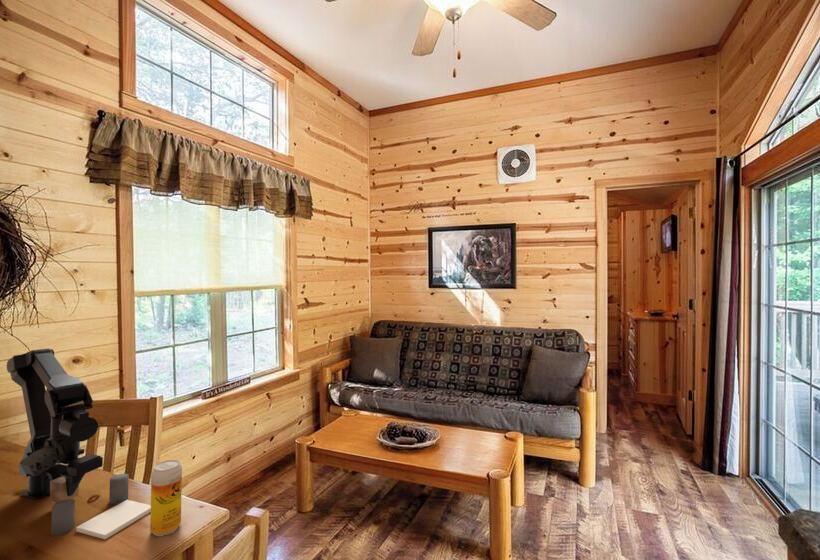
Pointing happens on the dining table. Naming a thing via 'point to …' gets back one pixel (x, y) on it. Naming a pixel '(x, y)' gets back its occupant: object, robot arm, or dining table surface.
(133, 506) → the ceramic tile
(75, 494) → the walnut block
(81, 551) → the dining table surface
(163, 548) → the dining table surface
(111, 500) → the post
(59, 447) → the robot arm
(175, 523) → the yellow canister
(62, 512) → the post
